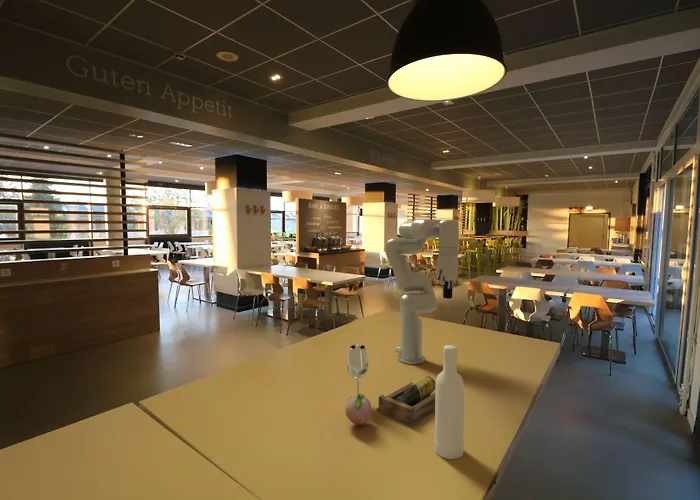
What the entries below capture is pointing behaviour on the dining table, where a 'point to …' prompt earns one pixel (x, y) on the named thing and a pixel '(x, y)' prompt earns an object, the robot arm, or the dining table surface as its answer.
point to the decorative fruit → (358, 409)
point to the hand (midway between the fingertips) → (447, 298)
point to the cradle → (406, 407)
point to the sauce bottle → (418, 391)
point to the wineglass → (357, 363)
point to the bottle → (449, 408)
